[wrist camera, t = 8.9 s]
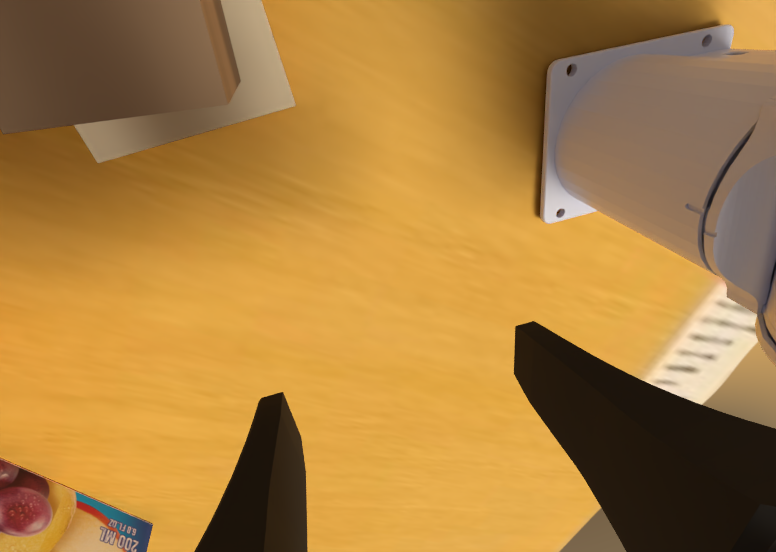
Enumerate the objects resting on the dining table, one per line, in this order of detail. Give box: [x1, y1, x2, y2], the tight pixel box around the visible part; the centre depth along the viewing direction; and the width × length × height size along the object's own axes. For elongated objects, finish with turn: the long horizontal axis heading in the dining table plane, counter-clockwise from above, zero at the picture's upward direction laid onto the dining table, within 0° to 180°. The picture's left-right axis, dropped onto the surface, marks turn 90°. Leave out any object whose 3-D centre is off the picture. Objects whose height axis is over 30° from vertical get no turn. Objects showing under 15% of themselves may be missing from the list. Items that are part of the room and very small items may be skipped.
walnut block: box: [0, 0, 241, 134], centre depth 10 cm, size 4×4×6 cm
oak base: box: [74, 0, 296, 163], centre depth 14 cm, size 7×7×3 cm
